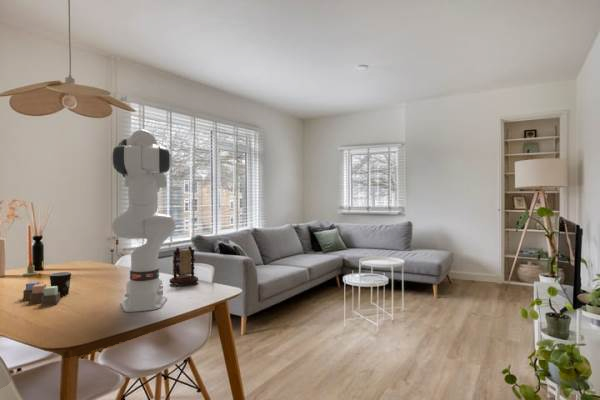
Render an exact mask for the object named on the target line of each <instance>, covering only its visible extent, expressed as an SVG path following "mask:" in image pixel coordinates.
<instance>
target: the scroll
mask: <svg viewBox="0 0 600 400" xmlns="http://www.w3.org/2000/svg"><path fill="white" fill-rule="evenodd" d="M172 254H173V261H172V262H173V276H172V277H171V278H170V279H169V284H171V285H172V284H173V285H176V287H179V286H180V285H189V284H194V285H197V282H198V281H199V277H197V276H195V261H196V259H195V249H193V248H192V246H191V245H190V246H188V248H187V249H180V248H179V247H178V246H177V247H176V249H175V250H174V251H173V252H172ZM177 259H178V260H177Z"/></svg>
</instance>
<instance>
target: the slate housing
mask: <svg viewBox="0 0 600 400" xmlns="http://www.w3.org/2000/svg"><path fill="white" fill-rule="evenodd" d="M22 293H23V298H22V299H29V300H30V294H31V293H32V290H29V291H26V289H24V290H23V291H22Z"/></svg>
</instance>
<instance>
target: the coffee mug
mask: <svg viewBox="0 0 600 400" xmlns="http://www.w3.org/2000/svg"><path fill="white" fill-rule="evenodd" d="M71 276H72V272H71V271H68V272H67V271H61V272H60V271H59V272H53V273H50V274H49V281H50V286H58V292H60V297H64V296H68V295H69V292H70V284H71V278H72V277H71Z"/></svg>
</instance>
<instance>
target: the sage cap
mask: <svg viewBox="0 0 600 400" xmlns="http://www.w3.org/2000/svg"><path fill="white" fill-rule="evenodd" d="M57 293H58V286H51V285H50V286H46V288H44V296H50V295H56V294H57Z"/></svg>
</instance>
